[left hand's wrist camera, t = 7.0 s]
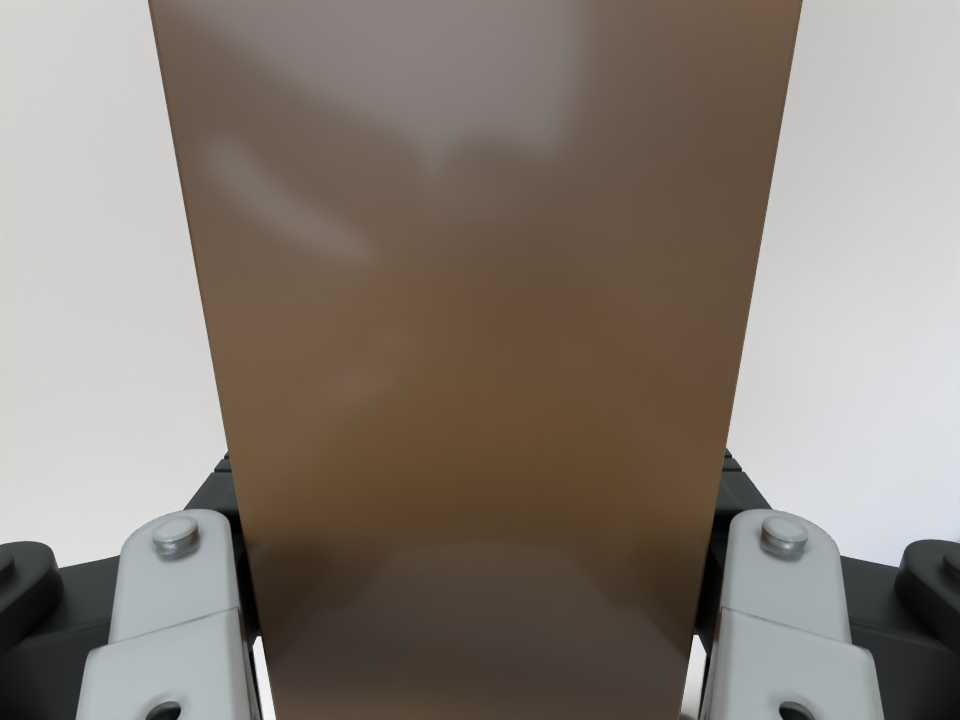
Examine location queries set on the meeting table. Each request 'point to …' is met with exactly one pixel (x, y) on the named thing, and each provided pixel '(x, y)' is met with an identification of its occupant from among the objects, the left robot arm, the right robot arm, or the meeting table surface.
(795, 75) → the meeting table surface
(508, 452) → the box
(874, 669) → the left robot arm
